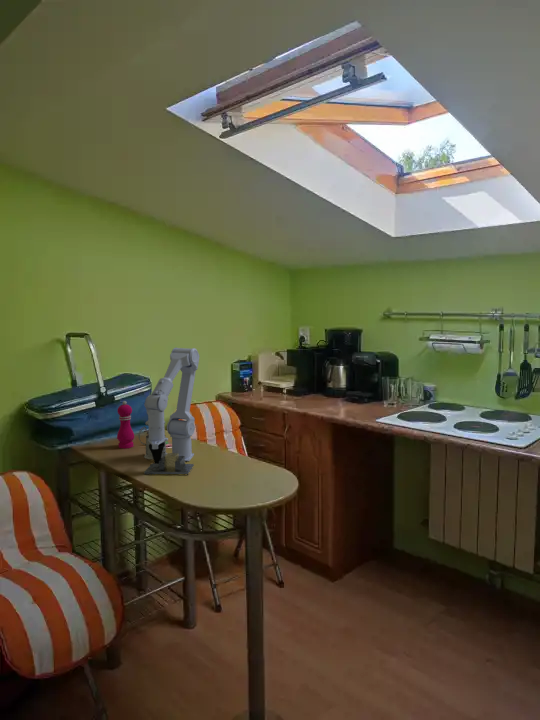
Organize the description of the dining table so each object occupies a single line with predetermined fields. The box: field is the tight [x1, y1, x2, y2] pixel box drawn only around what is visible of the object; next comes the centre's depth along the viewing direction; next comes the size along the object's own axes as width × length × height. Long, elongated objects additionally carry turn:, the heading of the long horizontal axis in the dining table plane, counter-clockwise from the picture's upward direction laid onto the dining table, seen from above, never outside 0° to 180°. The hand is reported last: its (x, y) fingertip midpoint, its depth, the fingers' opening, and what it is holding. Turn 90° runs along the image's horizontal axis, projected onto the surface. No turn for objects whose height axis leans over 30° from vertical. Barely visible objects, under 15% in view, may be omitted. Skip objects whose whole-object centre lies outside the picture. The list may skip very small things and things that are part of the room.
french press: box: [137, 420, 168, 460], centre depth 214 cm, size 10×12×25 cm
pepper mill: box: [116, 400, 135, 450], centre depth 229 cm, size 7×7×20 cm
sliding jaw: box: [159, 455, 165, 470], centre depth 199 cm, size 12×2×4 cm, turn 176°
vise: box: [143, 456, 195, 476], centre depth 197 cm, size 10×16×4 cm, turn 86°
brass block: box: [165, 452, 179, 470], centre depth 197 cm, size 4×4×5 cm
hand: (157, 463), depth 197 cm, fingers closed
